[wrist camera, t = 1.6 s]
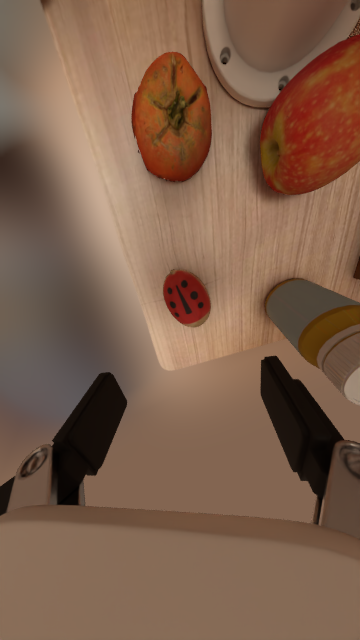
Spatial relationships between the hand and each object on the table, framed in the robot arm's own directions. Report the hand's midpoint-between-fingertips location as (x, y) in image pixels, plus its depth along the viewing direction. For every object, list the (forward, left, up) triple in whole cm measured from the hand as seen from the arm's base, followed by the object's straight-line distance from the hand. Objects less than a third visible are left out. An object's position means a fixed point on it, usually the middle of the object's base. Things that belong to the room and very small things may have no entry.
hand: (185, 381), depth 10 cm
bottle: (+4, +14, -17) cm, 23 cm away
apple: (-13, +13, -17) cm, 25 cm away
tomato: (-17, +1, -17) cm, 25 cm away
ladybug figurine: (+1, -1, -17) cm, 17 cm away
